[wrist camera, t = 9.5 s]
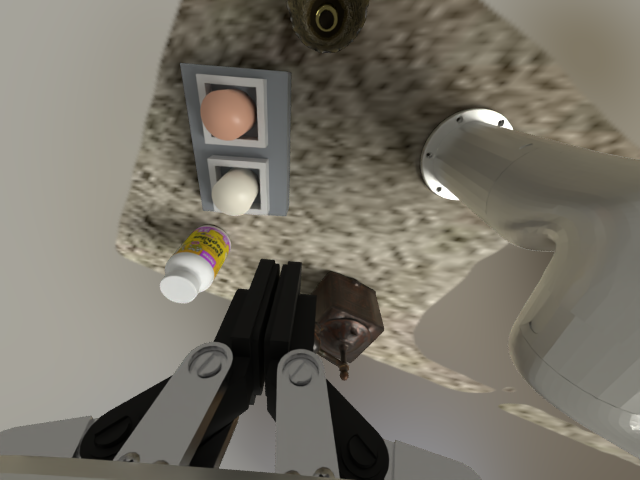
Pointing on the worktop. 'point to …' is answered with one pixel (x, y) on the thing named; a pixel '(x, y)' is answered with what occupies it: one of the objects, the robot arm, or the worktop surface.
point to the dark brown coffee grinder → (344, 320)
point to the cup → (349, 18)
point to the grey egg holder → (253, 146)
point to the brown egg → (228, 113)
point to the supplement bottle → (195, 264)
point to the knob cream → (236, 191)
